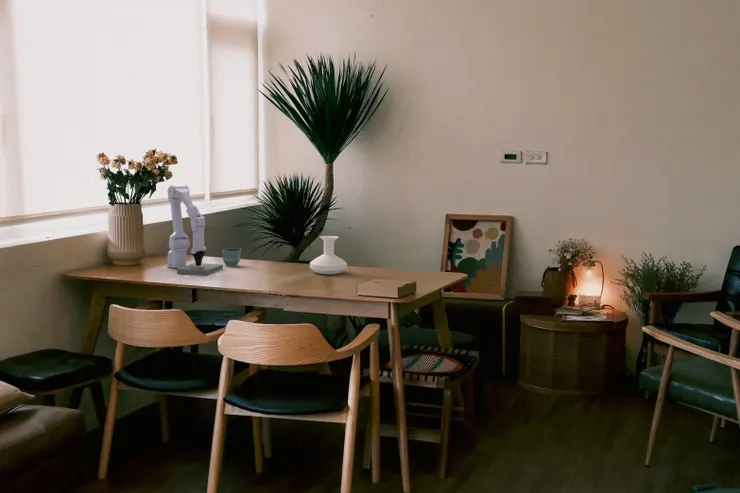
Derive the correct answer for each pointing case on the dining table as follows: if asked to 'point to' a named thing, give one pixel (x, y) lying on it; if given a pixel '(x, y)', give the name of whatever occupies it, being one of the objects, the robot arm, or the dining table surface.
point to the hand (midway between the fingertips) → (198, 265)
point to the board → (204, 269)
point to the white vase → (328, 259)
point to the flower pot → (231, 256)
